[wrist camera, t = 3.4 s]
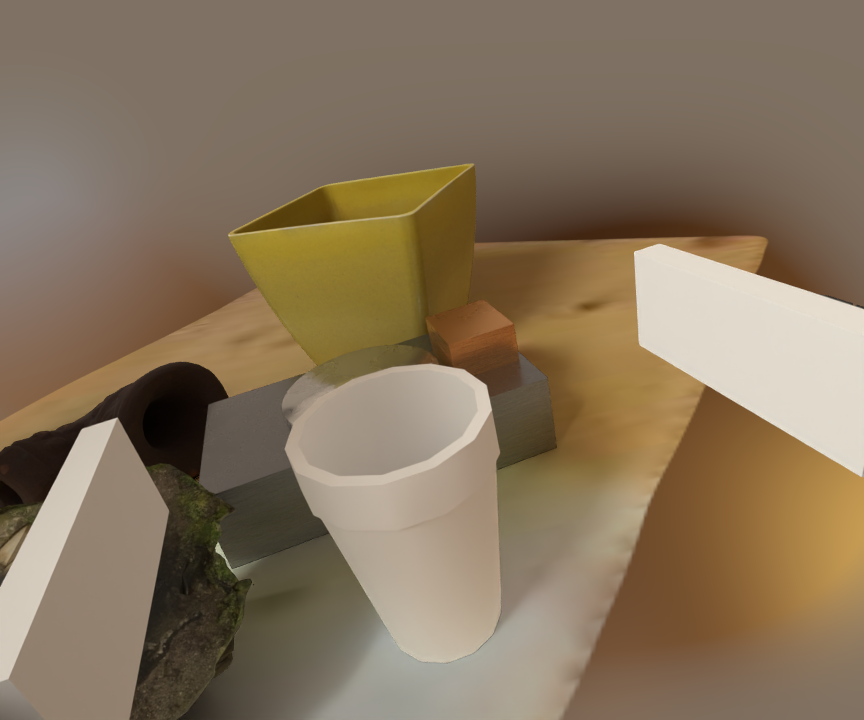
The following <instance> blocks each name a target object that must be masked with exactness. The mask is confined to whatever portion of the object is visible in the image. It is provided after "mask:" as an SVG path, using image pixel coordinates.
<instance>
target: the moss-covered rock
mask: <svg viewBox="0 0 864 720" xmlns="http://www.w3.org/2000/svg"><path fill="white" fill-rule="evenodd" d="M145 468H146V470H147V472H148V473H149V475H150V477H151V479H152V481H153V482H154V484H155V486H156V488H157V490H158V491H159V493H160V495H161V497H162V499H163V500H164V502H165V504H166V506H167V508H168V509H169V514H168V520H167V525H166V530H165V535H164V540H163V546H162V551H161V556H160V561H159V567H158V572H157V577H156V582H155V588H154V593H153V598H152V603H151V609H150V614H149V619H148V624H147V629H146V635H145V640H144V645H143V650H142V656H141V661H140V666H139V671H138V677H137V682H136V687H135V692H134V697H133V703H132V708H131V713H130V718H129V720H177V719H178V718H180V717H181V716H182V715H184V714H185V713H186V712H187V711H188V710H189V709H190V708H191V706H192V705H193V704H194V702H195V701H196V700H197V699H198V698H199V696H200V695H201V694H202V692H203V691H204V689H205V688H206V687H207V685H208V684H209V682H210V681H211V680H212V679H213V678H215V677H216V676H217V675H219V674H220V673H222V672H223V671H224V670H226V669H227V668H228V666H229V665H230V663H231V661H232V659H233V658H232V651H233V649H234V634H235V633H236V631H237V630H238V629H239V627H240V624H241V621H242V619H243V615H244V604H245V596H246V593H247V591H248V589H249V588H250V586H251V583H252V581H251V579H245V580H242V581H238V579H237V578H236V576H235V575H234V574H233V573H232V572H231V571H230V569H229V568H228V567H227V565H226V562H225V559H224V558H223V557H222V556H221V555H220V554H218V553H216V552H215V547H216V544H217V542H218V540H219V538H220V536H221V534H222V528H221V524H220V522H221V521H222V520H223V519H224V518H225V517H226V516H227V515H228V514H230V513H232V512H234V510H235V508H234V507H232V506H231V505H229V504H228V503H226V502H224V501H223V500H221V499H220V498H217V497H215V493H212V492H209V491H208V490H207V489H206V488H205V487H203V486H202V485H201V484H200V483H198V482H197V481H196V480H194V479H193V478H191V477H190V476H189V475H188V474H186V473H184V472H182V471H180V470H178V469H177V468H175V467H174V466H172V465H170V464H162V463H160V464H156V465H153V466H150V467H145ZM44 501H45V500H44ZM44 501H40V502H32V503H25V504H19V505H9V506H6V507H3V508H1V509H0V577H2V576H5V575H7V573H8V571H9V569H10V567H11V565H12V563H13V561H14V560H15V558H16V556H17V554H18V552H19V550H20V548H21V546H22V544H23V542H24V540H25V538H26V536H27V534H28V532H29V530H30V528H31V527H32V525H33V523H34V521H35V519H36V517H37V515H38V513H39V511H40V509H41V507H42V505H43V503H44ZM253 585H254V584H253Z"/></svg>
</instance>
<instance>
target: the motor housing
mask: <svg viewBox="0 0 864 720" xmlns="http://www.w3.org/2000/svg"><path fill="white" fill-rule="evenodd" d="M425 319H426V323H427V328H428V332H429V333H428V334H425V335H422V336H419V337H416V338H413V339H410V340H407V341H403V342H400V343H397V344H394V345H383V346H375V347H369V348H364V349H360V350H356V351H353V352H349V353H346V354H343V355H340V356H338V357H335V358H333V359H331V360H328V361H326V362H324V363H322V364H320V365H319V366H317V367H315V368H313V369H312V370H310V371H309V372H307V373H304V374H301V375H298V376H295V377H292V378H289V379H286V380H283V381H280V382H276V383H273V384H270V385H267V386H264V387H261V388H258V389H255V390H252V391H249V392H245V393H242V394H239V395H236V396H233V397H230V398H227V399H224V400H221V401H218V402H215V403H211V404H209V405H208V413H207V421H206V429H205V437H204V445H203V453H202V461H201V469H200V478H199V483H200V484H201V485H202V486H203V487H205V488H206V489H207V490H208V491H209V492H212V493H215V497H217V498H220V499H221V500H223V501H224V502H226V503H228V504H229V505H231V506H232V507H234V508H235V510H234V512H232V513H230V514H228V515H227V516H226V517H225V518H224V519H223V520H222V521H221V522H220V524H221V528H222V534H221V536H220V538H219V540H218V543H219V544H220V546H221V548H222V550H223V552H224V554H225V556H226V558H227V560H228V562H229V564H230V566H231V568H232V569H233V568H236V567H238V566H241V565H244V564H246V563H249V562H252V561H254V560H257V559H260V558H262V557H265V556H268V555H271V554H273V553H276V552H279V551H281V550H284V549H287V548H289V547H292V546H295V545H297V544H300V543H303V542H305V541H308V540H311V539H313V538H316V537H319V536H321V535H324V534H327V533H329V531H328V530H327V528H326V526H325V525H324V523H323V521H322V520H321V519H320V518H318V517H316V516H314V515H313V513H312V511H311V509H310V507H309V505H308V503H307V501H306V499H305V497H304V495H303V493H302V491H301V488H300V486H299V484H298V481H297V479H296V476H295V474H294V471H293V469H292V466H291V464H290V461H289V459H288V456H287V454H286V451H285V446H286V443H287V440H288V437H289V435H290V432H291V429H292V426H293V423H294V422H295V421H296V420H297V419H298V418H299V417H300V416H301V415H302V414H303V413H304V412H305V411H306V410H307V409H308V408H309V407H310V406H311V405H312V404H313V403H314V402H315V401H316V400H317V399H318V398H320V397H321V396H323V395H325V394H327V393H329V392H330V391H332V390H334V389H336V388H338V387H340V386H341V385H343V384H345V383H347V382H349V381H350V380H352V379H355V378H358V377H361V376H364V375H368V374H371V373H374V372H378V371H381V370H384V369H387V368H391V367H399V366H410V365H421V364H436V365H441V366H447V367H452V368H458V369H464V370H465V371H467V372H468V373H470V374H471V375H473V376H474V377H475V378H477V379H478V380H480V381H481V382H483V383H484V384H486V385H487V389H488V394H489V399H490V404H491V408H492V413H493V419H494V424H495V429H496V434H497V439H498V445H499V450H500V455H499V457H498V459H497V461H496V470H497V469H500V468H503V467H505V466H508V465H511V464H513V463H516V462H519V461H522V460H524V459H527V458H530V457H532V456H535V455H538V454H540V453H543V452H546V451H548V450H551V449H554V448H556V447H557V444H556V437H555V429H554V422H553V414H552V407H551V399H550V392H549V385H548V377H546V376H545V375H544V374H543V373H542V372H541V371H540V370H539V369H537V368H536V367H535V366H534V365H533V364H532V363H531V362H530V361H528V360H527V359H526V358H525V357H524V356H523V355H522V354H521V353H519V352H518V348H517V341H516V335H515V329H514V324H513V323H512V322H511V321H510V320H508V319H507V318H506V317H505V316H503V315H502V314H501V313H500V312H498V311H497V310H496V309H495V308H493V307H492V306H491V305H490V304H488V303H487V302H486V301H485V300H483V299H482V300H479V301H476V302H473V303H469V304H466V305H463V306H460V307H457V308H454V309H451V310H447V311H444V312H441V313H438V314H435V315H432V316H429V317H425Z"/></svg>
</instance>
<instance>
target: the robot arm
mask: <svg viewBox="0 0 864 720" xmlns="http://www.w3.org/2000/svg"><path fill="white" fill-rule="evenodd" d="M634 259H635V277H636V296H637V315H638V334H639V345H640V346H642V347H643V348H645V349H647V350H649V351H650V352H652V353H654V354H655V355H657V356H659V357H660V358H662V359H664V360H665V361H667V362H669V363H670V364H672V365H674V366H675V367H677V368H679V369H681V370H682V371H684V372H686V373H687V374H689V375H691V376H692V377H694V378H696V379H697V380H699V381H701V382H702V383H704V384H706V385H707V386H709V387H711V388H713V389H714V390H716V391H718V392H719V393H721V394H723V395H724V396H726V397H728V398H729V399H731V400H733V401H734V402H736V403H738V404H739V405H741V406H743V407H745V408H746V409H748V410H750V411H751V412H753V413H755V414H756V415H758V416H760V417H761V418H763V419H765V420H767V421H768V422H770V423H771V424H773V425H775V426H777V427H778V428H780V429H782V430H783V431H785V432H787V433H788V434H790V435H792V436H794V437H795V438H797V439H798V440H800V441H802V442H803V443H805V444H807V445H809V446H810V447H812V448H814V449H815V450H817V451H819V452H820V453H822V454H824V455H826V456H827V457H829V458H830V459H832V460H834V461H835V462H837V463H839V464H841V465H842V466H844V467H846V468H847V469H849V470H851V471H852V472H854V473H856V474H857V475H859V476H861V477H863V476H864V307H863V306H859V305H856V306H853V304H852V303H850V302H846V301H843V300H840V299H837V298H834V297H831V296H827V295H819V294H815V293H812V292H809V291H806V290H802V289H799V288H796V287H793V286H790V285H787V284H783V283H780V282H778V281H774V280H771V279H768V278H765V277H762V276H759V275H756V274H753V273H749V272H746V271H743V270H740V269H737V268H734V267H731V266H728V265H724V264H721V263H718V262H715V261H712V260H709V259H706V258H703V257H699V256H696V255H693V254H690V253H687V252H684V251H681V250H678V249H674V248H671V247H668V246H665V245H662V244H657V245H654V246H651V247H648V248H645V249H642V250H639V251H635V252H634ZM168 514H169V509H168V508H167V506H166V504H165V502H164V500H163V499H162V497H161V495H160V493H159V491H158V490H157V488H156V486H155V484H154V482H153V481H152V479H151V477H150V475H149V473H148V472H147V470H146V468H145V466H144V464H143V463H142V461H141V459H140V457H139V455H138V454H137V452H136V450H135V448H134V446H133V445H132V443H131V441H130V439H129V437H128V435H127V434H126V432H125V430H124V428H123V426H122V425H121V423H120V421H119V419H118V418H115V419H112V420H108V421H105V422H102V423H99V424H96V425H93V426H90V427H87V428H83V429H82V430H81V431H80V433H79V435H78V437H77V439H76V441H75V443H74V445H73V447H72V449H71V451H70V453H69V455H68V457H67V459H66V461H65V463H64V464H63V466H62V468H61V470H60V472H59V474H58V476H57V478H56V480H55V482H54V484H53V486H52V488H51V490H50V492H49V494H48V496H47V497H46V499H45V501H44V503H43V505H42V507H41V509H40V511H39V513H38V515H37V517H36V519H35V521H34V523H33V525H32V527H31V528H30V530H29V532H28V534H27V536H26V538H25V540H24V542H23V544H22V546H21V548H20V550H19V552H18V554H17V556H16V558H15V560H14V561H13V563H12V565H11V567H10V569H9V571H8V573H7V575H5V576H2V577H0V720H129V718H130V713H131V708H132V703H133V697H134V692H135V687H136V682H137V677H138V671H139V666H140V661H141V656H142V650H143V645H144V640H145V635H146V629H147V624H148V619H149V614H150V609H151V603H152V598H153V593H154V588H155V582H156V577H157V572H158V567H159V561H160V556H161V551H162V546H163V540H164V535H165V530H166V525H167V520H168Z"/></svg>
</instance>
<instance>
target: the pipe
mask: <svg viewBox="0 0 864 720" xmlns="http://www.w3.org/2000/svg"><path fill="white" fill-rule="evenodd" d="M227 398H229V397H228V395H227V393H226V391H225V389H224V387H223V386H222V384H221V383H220V381H219V380H218V379H217V378H216V376H215V375H214V374H213V373H212V372H211V371H210V370H208V369H206V368H204V367H202V366H200V365H197V364H194V363H189V362H175V363H169V364H166V365H163V366H160V367H158V368H156V369H154V370H152V371H150V372H149V373H147V374H145V375H144V376H142V377H141V378H140V379H138V380H137V381H135V382H134V383H131V384H129V385H127V386H125V387H123V388H121V389H119V390H118V391H117V392H115V393H113V394H111V395H109V396H107V397H106V398H105V400H104V401H103V402H101V403H100V404H98V405H97V406H96V407H95V408H94V409H93V410H92V411H90V412H89V413H88V414H86V415H85V416H84V417H82V418H80V419H78V420H77V421H75V422H73V423H70V424H66V425H64V426H61V427H60V428H58V429H56V430H55V431H41V432H38V433H35V434H34V435H32V436H31V437H30V438H27V439H23V440H19V441H15V442H14V443H13V444H12V445H11V446H8V447H5V448H4V449H3V450H2V451H1V452H0V509H1V508H3V507H6V506H9V505H19V504H25V503H32V502H40V501H44V500H45V499H46V497H47V496H48V494H49V492H50V490H51V488H52V486H53V484H54V482H55V480H56V478H57V476H58V474H59V472H60V470H61V468H62V466H63V464H64V463H65V461H66V459H67V457H68V455H69V453H70V451H71V449H72V447H73V445H74V443H75V441H76V439H77V437H78V435H79V433H80V431H81V430H82V429H83V428H87V427H90V426H93V425H96V424H99V423H102V422H105V421H108V420H112V419H115V418H118V419H119V421H120V423H121V425H122V426H123V428H124V430H125V432H126V434H127V435H128V437H129V439H130V441H131V443H132V445H133V446H134V448H135V450H136V452H137V454H138V455H139V457H140V459H141V461H142V463H143V464H144V466H145V467H150V466H153V465H156V464H160V463H162V464H170V465H172V466H174V467H175V468H177V469H178V470H180V471H182V472H184V473H186V474H188V475H189V476H190V477H191V478H193V477H195V476H198V475H200V469H201V461H202V453H203V445H204V437H205V429H206V421H207V413H208V405H209V404H211V403H215V402H218V401H221V400H224V399H227Z"/></svg>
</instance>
